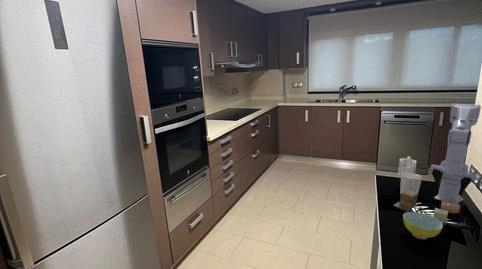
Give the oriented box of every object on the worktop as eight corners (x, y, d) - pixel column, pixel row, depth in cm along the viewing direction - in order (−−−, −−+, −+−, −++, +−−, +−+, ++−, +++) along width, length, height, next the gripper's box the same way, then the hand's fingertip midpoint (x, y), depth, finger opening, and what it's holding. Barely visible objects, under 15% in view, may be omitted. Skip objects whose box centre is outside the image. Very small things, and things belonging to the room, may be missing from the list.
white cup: (400, 197, 120) (403, 177, 117) (397, 190, 127) (400, 171, 125) (420, 200, 117) (423, 179, 115) (416, 193, 124) (419, 173, 122)
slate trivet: (402, 200, 117) (402, 199, 117) (422, 208, 110) (422, 207, 110) (393, 205, 112) (393, 204, 112) (413, 213, 106) (413, 212, 106)
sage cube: (433, 216, 104) (435, 207, 103) (446, 220, 101) (448, 211, 100) (432, 221, 101) (434, 211, 100) (445, 224, 98) (447, 215, 97)
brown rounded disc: (443, 205, 113) (444, 199, 112) (460, 211, 108) (462, 204, 108) (438, 209, 110) (439, 202, 109) (455, 215, 105) (457, 208, 104)
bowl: (434, 230, 95) (437, 215, 93) (443, 249, 84) (447, 232, 83) (399, 223, 99) (401, 208, 98) (403, 240, 89) (405, 224, 88)
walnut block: (404, 202, 114) (406, 189, 113) (415, 206, 111) (417, 193, 109) (399, 205, 112) (401, 192, 110) (410, 209, 108) (412, 196, 107)
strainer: (413, 185, 132) (417, 157, 129) (411, 190, 127) (416, 161, 123) (397, 182, 136) (401, 155, 133) (395, 186, 131) (399, 158, 128)
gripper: (429, 156, 105) (424, 187, 109) (475, 166, 94) (467, 201, 97) (436, 153, 109) (431, 183, 112) (481, 163, 97) (474, 196, 100)
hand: (448, 191), depth 105 cm, fingers open, 7 cm apart
